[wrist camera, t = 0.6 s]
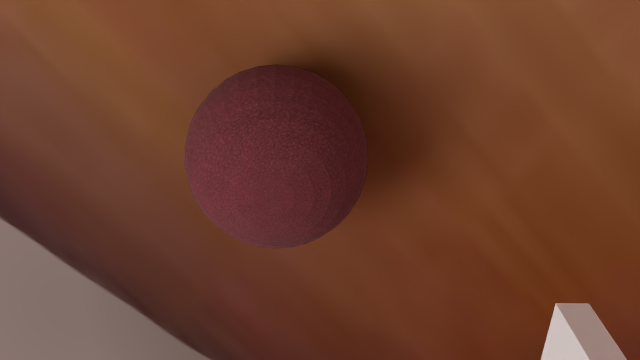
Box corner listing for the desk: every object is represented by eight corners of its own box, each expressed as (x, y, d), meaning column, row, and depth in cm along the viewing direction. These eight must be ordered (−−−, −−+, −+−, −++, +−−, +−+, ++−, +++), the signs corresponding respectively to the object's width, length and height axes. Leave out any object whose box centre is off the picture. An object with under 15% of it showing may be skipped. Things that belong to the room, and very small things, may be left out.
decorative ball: (179, 62, 35) (139, 120, 26) (345, 30, 35) (362, 79, 26) (221, 207, 40) (199, 300, 31) (370, 181, 39) (391, 267, 30)
